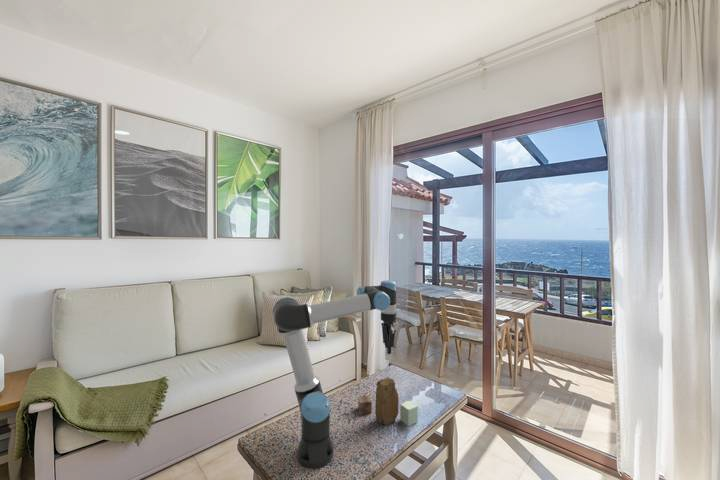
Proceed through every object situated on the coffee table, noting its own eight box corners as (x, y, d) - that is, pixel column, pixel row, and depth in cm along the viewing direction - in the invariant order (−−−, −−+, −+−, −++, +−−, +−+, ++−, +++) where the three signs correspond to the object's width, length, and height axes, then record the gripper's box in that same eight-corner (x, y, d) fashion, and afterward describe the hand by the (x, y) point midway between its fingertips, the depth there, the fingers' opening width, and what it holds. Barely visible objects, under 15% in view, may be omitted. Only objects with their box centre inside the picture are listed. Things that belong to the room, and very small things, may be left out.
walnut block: (359, 414, 155) (360, 402, 155) (358, 407, 161) (358, 396, 161) (371, 413, 156) (371, 401, 156) (369, 406, 162) (369, 395, 162)
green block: (408, 426, 146) (408, 410, 146) (400, 419, 151) (400, 404, 151) (417, 422, 149) (417, 406, 149) (409, 416, 154) (409, 400, 154)
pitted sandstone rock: (382, 427, 145) (382, 386, 144) (373, 419, 151) (374, 379, 151) (400, 420, 150) (400, 380, 150) (391, 412, 157) (391, 374, 156)
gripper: (401, 315, 145) (400, 363, 145) (390, 308, 157) (389, 353, 158) (386, 316, 142) (386, 365, 143) (376, 309, 155) (376, 355, 155)
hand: (388, 359), depth 150 cm, fingers closed
